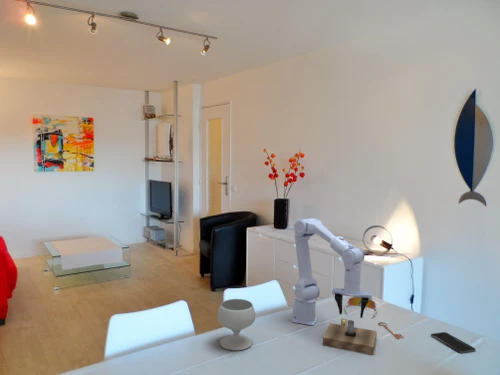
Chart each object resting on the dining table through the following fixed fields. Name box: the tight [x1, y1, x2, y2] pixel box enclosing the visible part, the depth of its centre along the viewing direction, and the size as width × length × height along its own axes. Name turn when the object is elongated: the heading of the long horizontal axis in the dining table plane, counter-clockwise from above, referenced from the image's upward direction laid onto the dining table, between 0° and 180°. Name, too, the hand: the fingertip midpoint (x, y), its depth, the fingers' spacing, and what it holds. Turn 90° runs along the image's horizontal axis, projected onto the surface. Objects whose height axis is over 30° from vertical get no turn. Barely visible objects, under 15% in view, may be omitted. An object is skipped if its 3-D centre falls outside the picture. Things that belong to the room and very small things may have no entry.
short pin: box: [340, 318, 348, 326], centre depth 160 cm, size 2×2×4 cm
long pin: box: [347, 319, 355, 337], centre depth 149 cm, size 2×2×8 cm
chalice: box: [217, 298, 256, 351], centre depth 146 cm, size 14×14×15 cm
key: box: [377, 321, 405, 340], centre depth 160 cm, size 6×1×15 cm
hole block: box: [322, 322, 378, 356], centre depth 149 cm, size 18×14×3 cm
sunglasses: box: [344, 296, 378, 320], centre depth 180 cm, size 14×15×5 cm
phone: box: [430, 331, 476, 355], centre depth 149 cm, size 8×1×15 cm
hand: (351, 315), depth 148 cm, fingers open, 7 cm apart
